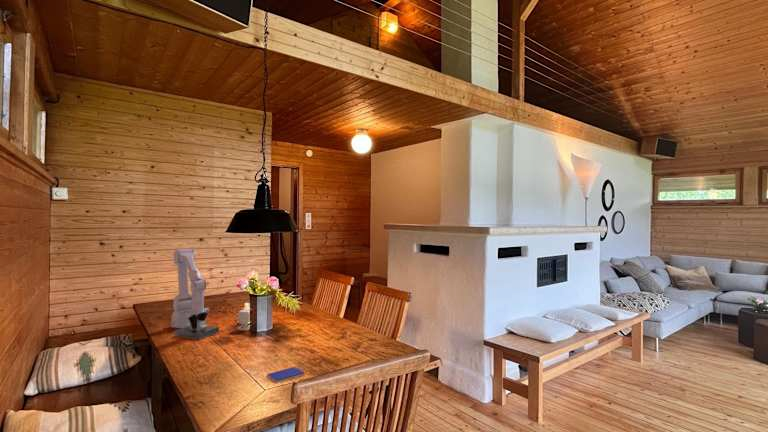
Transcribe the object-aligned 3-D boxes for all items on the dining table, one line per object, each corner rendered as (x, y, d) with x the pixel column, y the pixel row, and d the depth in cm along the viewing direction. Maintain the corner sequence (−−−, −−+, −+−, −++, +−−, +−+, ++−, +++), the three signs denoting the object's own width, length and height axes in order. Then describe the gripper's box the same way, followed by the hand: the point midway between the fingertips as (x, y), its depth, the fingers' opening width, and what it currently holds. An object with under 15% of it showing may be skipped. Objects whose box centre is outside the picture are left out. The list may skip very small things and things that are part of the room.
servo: (208, 330, 210) (208, 319, 210) (202, 332, 207) (202, 321, 207) (192, 328, 214) (192, 317, 214) (186, 330, 210) (186, 319, 210)
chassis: (174, 336, 206) (175, 330, 206) (195, 329, 219) (195, 323, 219) (199, 339, 201) (199, 334, 201) (218, 332, 214) (218, 326, 214)
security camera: (252, 327, 226) (253, 309, 226) (247, 330, 219) (247, 312, 219) (242, 326, 227) (242, 309, 227) (236, 329, 220) (236, 312, 220)
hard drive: (294, 366, 166) (266, 373, 158) (304, 372, 160) (275, 380, 152) (294, 369, 166) (266, 377, 158) (304, 376, 160) (275, 384, 152)
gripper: (193, 306, 202) (192, 332, 202) (213, 300, 216) (213, 325, 216) (182, 304, 204) (182, 330, 204) (203, 299, 218) (203, 323, 218)
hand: (197, 327), depth 210 cm, fingers closed on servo, 4 cm apart
